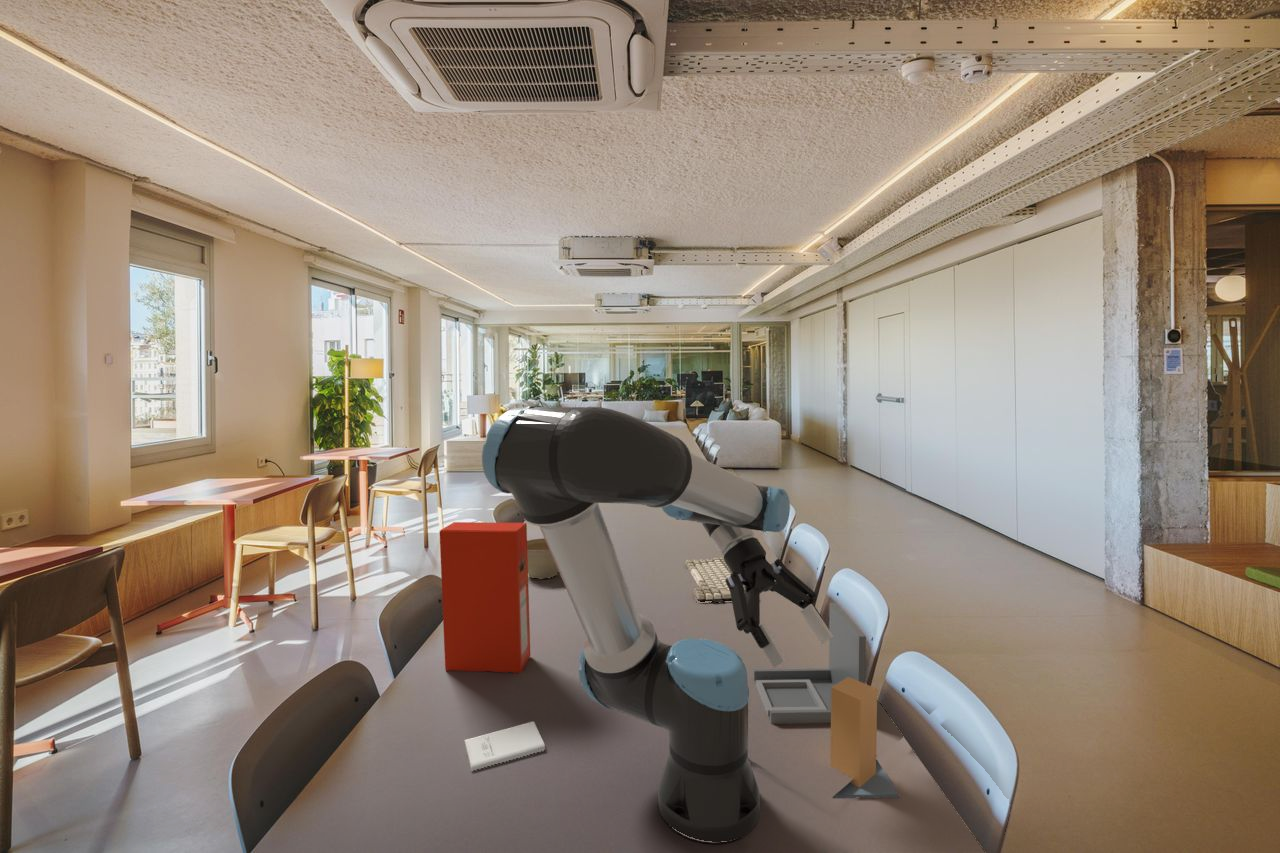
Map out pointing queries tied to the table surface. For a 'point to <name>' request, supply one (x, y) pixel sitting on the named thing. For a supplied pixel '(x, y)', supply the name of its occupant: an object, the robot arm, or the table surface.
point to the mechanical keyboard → (710, 579)
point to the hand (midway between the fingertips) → (805, 651)
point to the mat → (870, 787)
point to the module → (854, 729)
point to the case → (814, 677)
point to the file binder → (485, 596)
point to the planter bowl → (540, 559)
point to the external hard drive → (503, 745)
